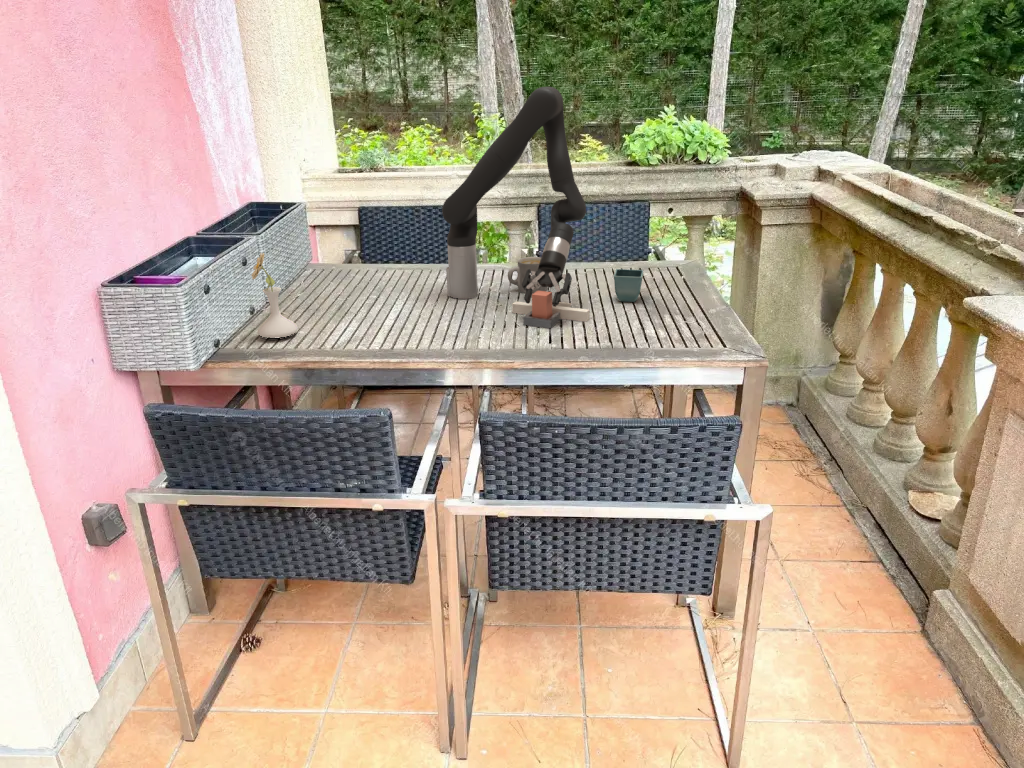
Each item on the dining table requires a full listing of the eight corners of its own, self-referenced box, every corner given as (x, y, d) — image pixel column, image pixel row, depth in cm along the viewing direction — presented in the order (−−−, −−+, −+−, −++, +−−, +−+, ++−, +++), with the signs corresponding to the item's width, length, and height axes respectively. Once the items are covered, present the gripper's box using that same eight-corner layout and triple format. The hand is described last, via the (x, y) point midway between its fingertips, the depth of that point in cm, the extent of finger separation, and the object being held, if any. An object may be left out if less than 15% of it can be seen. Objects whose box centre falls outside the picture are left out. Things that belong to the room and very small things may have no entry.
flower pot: (640, 304, 243) (642, 276, 240) (612, 303, 245) (613, 275, 241) (642, 296, 251) (643, 269, 248) (615, 295, 253) (615, 268, 249)
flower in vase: (265, 329, 228) (252, 245, 218) (303, 329, 227) (292, 245, 218) (250, 344, 216) (236, 256, 206) (290, 344, 215) (278, 256, 206)
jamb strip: (512, 313, 238) (512, 303, 236) (527, 303, 247) (526, 293, 246) (586, 321, 228) (586, 312, 227) (598, 311, 238) (598, 301, 237)
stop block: (532, 323, 228) (531, 294, 224) (538, 319, 231) (538, 290, 228) (546, 325, 226) (546, 296, 222) (552, 321, 230) (552, 291, 226)
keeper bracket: (523, 325, 227) (523, 317, 226) (533, 317, 233) (533, 309, 232) (550, 328, 223) (550, 320, 222) (560, 320, 230) (560, 312, 229)
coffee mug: (546, 285, 266) (546, 256, 262) (548, 293, 257) (548, 263, 253) (507, 286, 266) (506, 257, 262) (508, 294, 257) (507, 264, 253)
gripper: (529, 247, 230) (514, 295, 225) (574, 251, 224) (559, 299, 219) (536, 261, 236) (521, 307, 231) (580, 264, 231) (566, 312, 226)
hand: (540, 303), depth 225 cm, fingers open, 8 cm apart
